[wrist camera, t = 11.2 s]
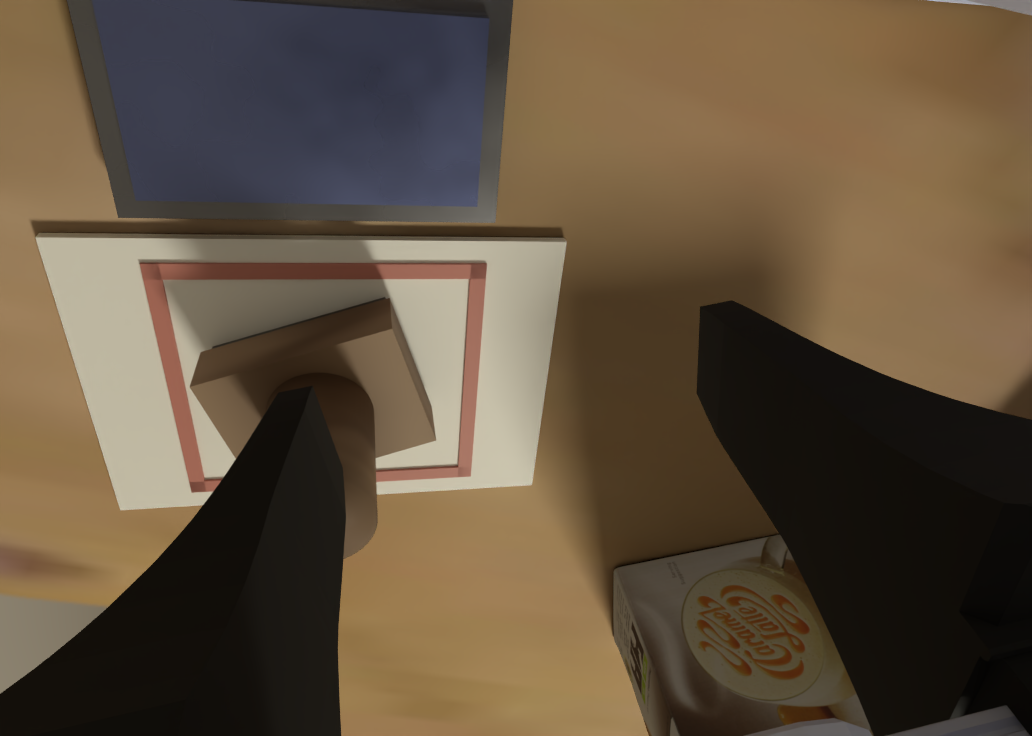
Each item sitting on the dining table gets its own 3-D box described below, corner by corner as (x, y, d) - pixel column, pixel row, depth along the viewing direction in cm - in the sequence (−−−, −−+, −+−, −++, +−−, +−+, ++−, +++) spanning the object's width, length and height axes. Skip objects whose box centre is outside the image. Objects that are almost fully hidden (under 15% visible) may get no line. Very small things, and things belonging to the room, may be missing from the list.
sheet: (564, 237, 23) (567, 243, 22) (530, 479, 29) (532, 486, 28) (39, 232, 20) (34, 239, 19) (122, 504, 26) (119, 512, 25)
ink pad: (505, -17, 18) (516, -8, 17) (489, 206, 22) (496, 227, 20) (74, -52, 16) (51, -45, 15) (129, 199, 20) (115, 221, 18)
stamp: (389, 289, 22) (399, 426, 17) (430, 397, 25) (450, 544, 20) (203, 343, 22) (154, 497, 17) (264, 445, 25) (239, 606, 20)
